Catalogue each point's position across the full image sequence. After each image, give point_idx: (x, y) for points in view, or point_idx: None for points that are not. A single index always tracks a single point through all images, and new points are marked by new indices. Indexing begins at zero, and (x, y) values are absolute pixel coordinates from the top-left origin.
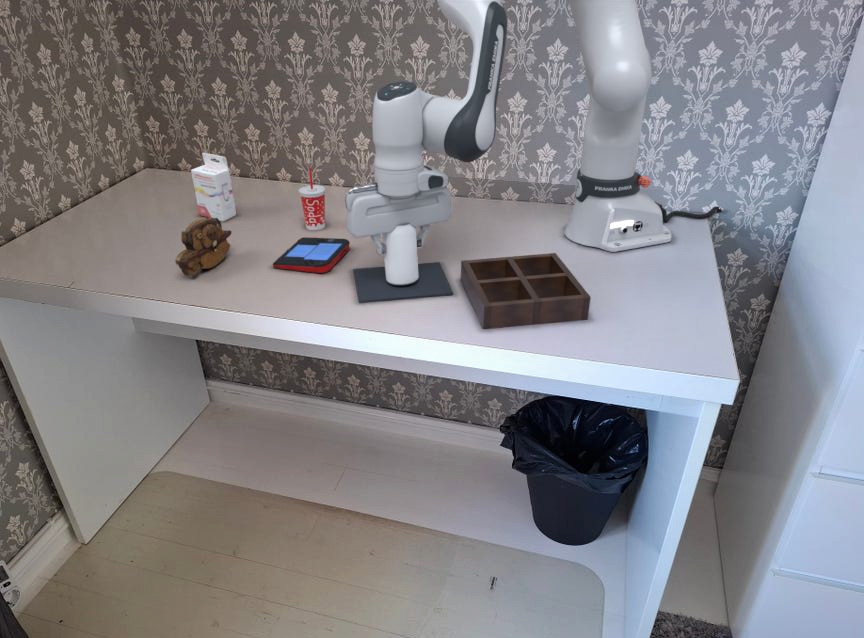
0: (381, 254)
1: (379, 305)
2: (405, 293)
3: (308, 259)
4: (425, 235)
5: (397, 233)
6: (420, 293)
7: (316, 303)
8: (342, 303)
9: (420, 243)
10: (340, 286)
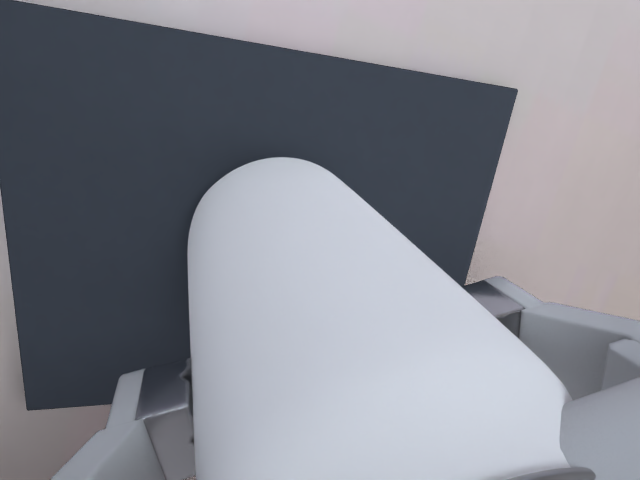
0: (480, 282)
1: (439, 32)
2: (294, 93)
3: None
4: (76, 458)
5: (507, 364)
6: (210, 64)
7: (637, 144)
8: (564, 112)
9: (152, 384)
10: (516, 262)
